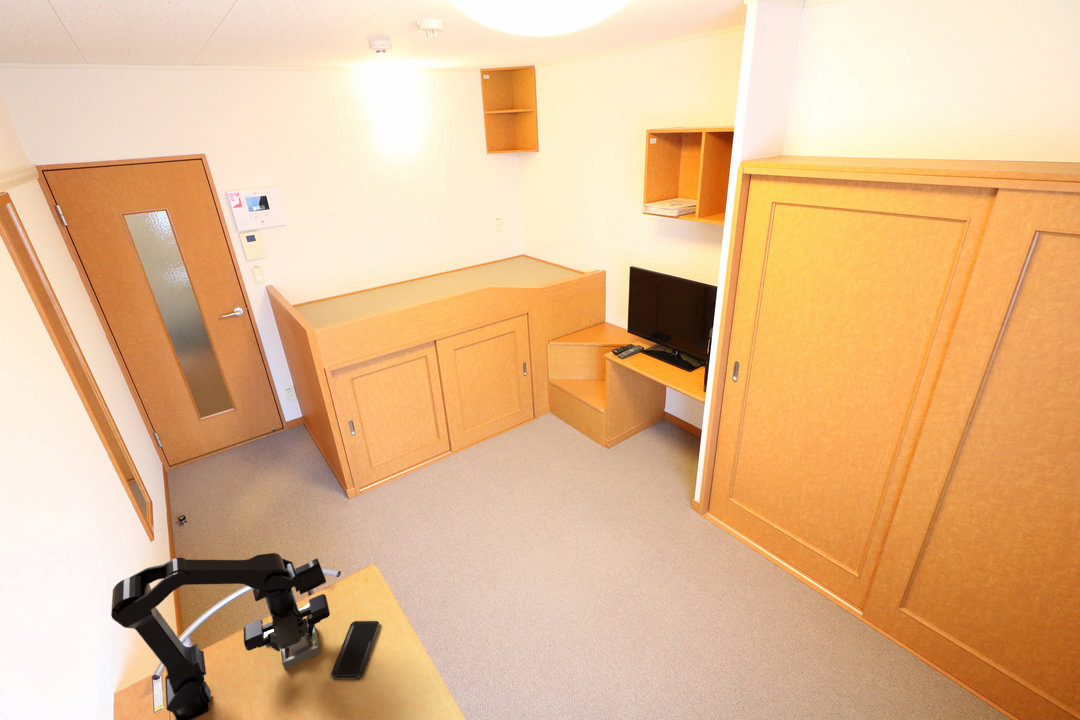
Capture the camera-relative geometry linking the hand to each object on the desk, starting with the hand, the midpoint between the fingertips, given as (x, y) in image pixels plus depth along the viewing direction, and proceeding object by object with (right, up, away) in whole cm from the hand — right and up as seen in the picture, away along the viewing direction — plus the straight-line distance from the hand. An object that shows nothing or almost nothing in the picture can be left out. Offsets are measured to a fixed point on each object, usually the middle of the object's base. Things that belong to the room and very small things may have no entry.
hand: (295, 642), depth 126 cm
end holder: (+1, -2, +1) cm, 3 cm away
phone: (+16, -3, +1) cm, 16 cm away
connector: (+1, -2, +2) cm, 3 cm away
